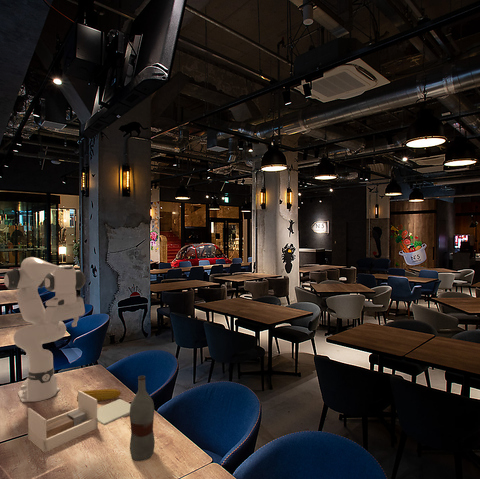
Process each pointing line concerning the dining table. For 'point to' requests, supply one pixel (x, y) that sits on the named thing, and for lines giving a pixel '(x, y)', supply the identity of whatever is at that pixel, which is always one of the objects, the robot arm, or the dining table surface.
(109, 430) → the dining table surface
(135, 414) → the bottle
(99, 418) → the board
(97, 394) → the food
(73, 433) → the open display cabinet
